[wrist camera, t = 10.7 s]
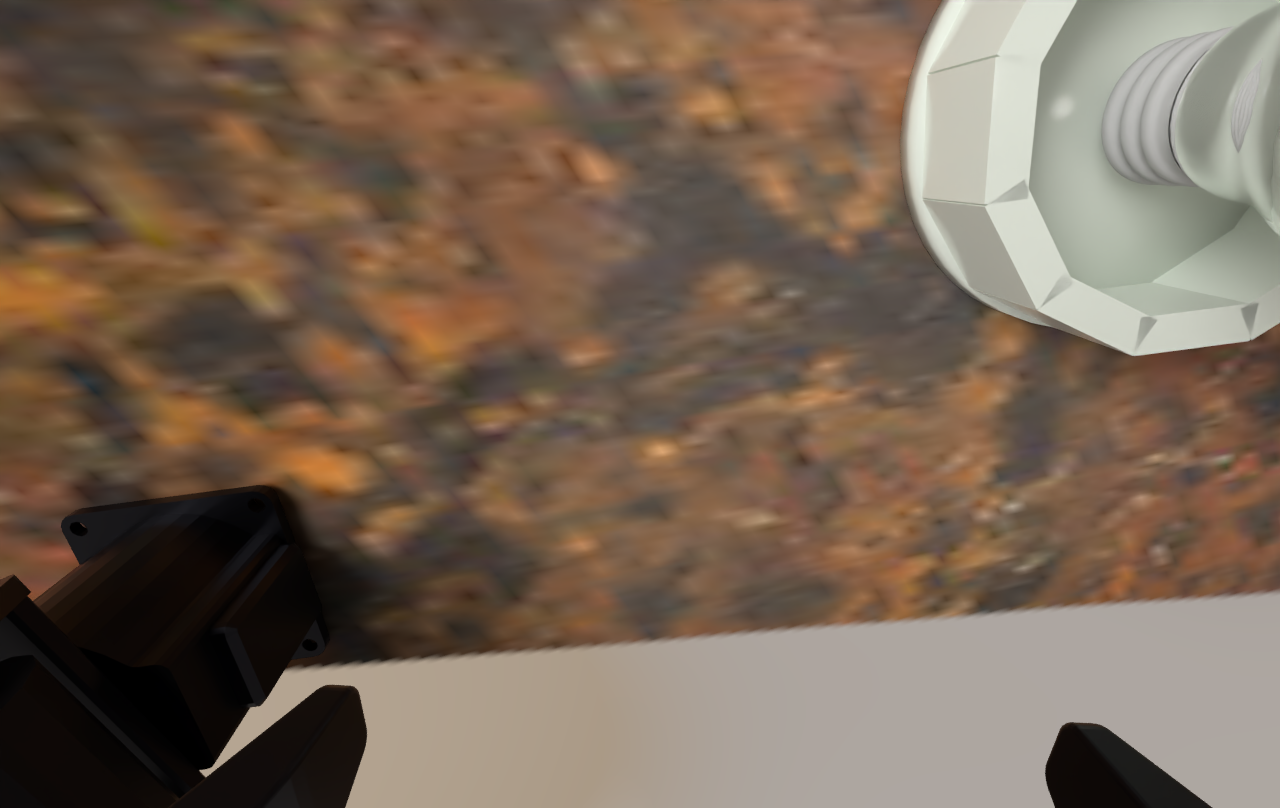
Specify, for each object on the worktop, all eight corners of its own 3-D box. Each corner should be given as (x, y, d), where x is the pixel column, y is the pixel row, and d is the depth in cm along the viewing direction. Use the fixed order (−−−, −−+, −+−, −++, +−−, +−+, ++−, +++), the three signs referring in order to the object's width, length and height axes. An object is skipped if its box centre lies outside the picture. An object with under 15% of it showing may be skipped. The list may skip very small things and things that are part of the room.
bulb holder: (894, 344, 20) (962, 386, 16) (907, -118, 16) (1005, -207, 12) (1262, 295, 20) (1415, 326, 16) (1375, -174, 16) (1616, -279, 12)
